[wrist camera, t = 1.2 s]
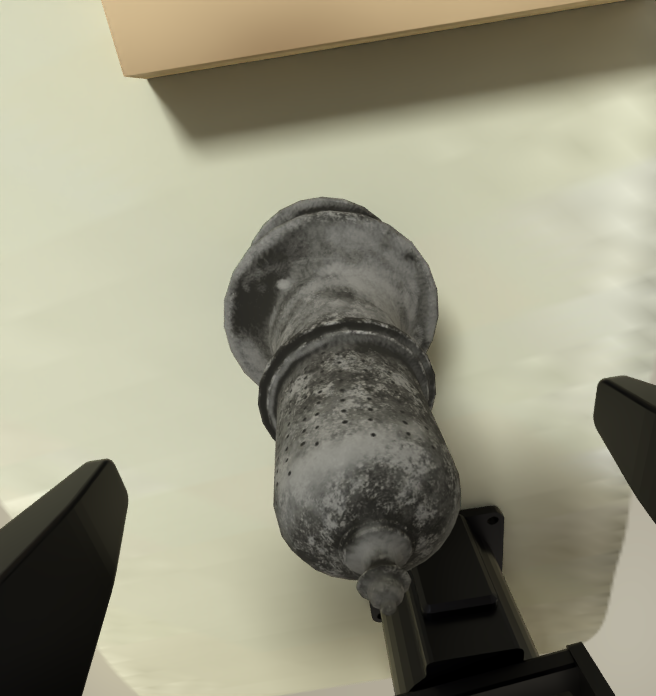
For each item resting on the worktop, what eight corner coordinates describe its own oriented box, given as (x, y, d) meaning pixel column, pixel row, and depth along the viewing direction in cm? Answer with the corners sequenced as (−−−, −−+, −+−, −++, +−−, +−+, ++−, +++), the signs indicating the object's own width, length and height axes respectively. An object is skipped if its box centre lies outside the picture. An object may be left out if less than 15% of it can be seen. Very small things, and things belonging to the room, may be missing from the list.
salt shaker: (424, 328, 18) (633, 685, 7) (270, 372, 18) (244, 775, 7) (388, 162, 15) (642, 333, 4) (208, 219, 15) (23, 507, 5)
